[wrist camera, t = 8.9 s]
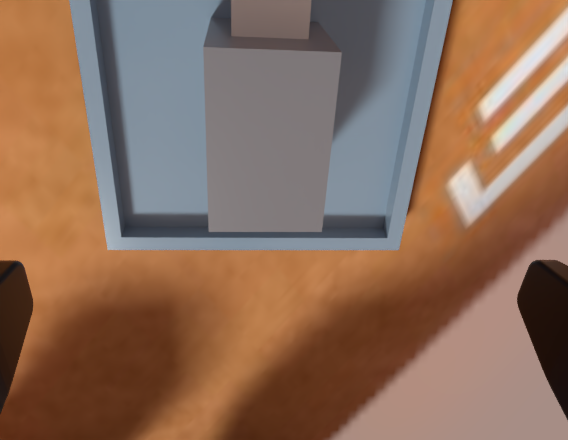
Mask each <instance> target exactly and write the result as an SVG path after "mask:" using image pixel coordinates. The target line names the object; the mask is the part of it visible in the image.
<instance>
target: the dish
mask: <svg viewBox="0 0 568 440" xmlns="http://www.w3.org/2000/svg"><path fill="white" fill-rule="evenodd" d="M69 1H70V8H71V14H72V21H73V27H74V34H75V40H76V47H77V53H78V60H79V66H80V73H81V79H82V86H83V92H84V99H85V105H86V112H87V118H88V125H89V131H90V138H91V144H92V151H93V157H94V164H95V170H96V177H97V183H98V190H99V196H100V203H101V209H102V216H103V222H104V229H105V235H106V242H107V248H108V250H399V247H400V242H401V238H402V233H403V229H404V224H405V219H406V215H407V210H408V205H409V201H410V196H411V192H412V187H413V182H414V178H415V173H416V168H417V164H418V159H419V155H420V150H421V145H422V141H423V136H424V131H425V127H426V122H427V118H428V113H429V108H430V104H431V99H432V94H433V90H434V85H435V81H436V76H437V71H438V67H439V62H440V57H441V53H442V48H443V44H444V39H445V34H446V30H447V25H448V20H449V16H450V11H451V7H452V2H453V0H311V13H310V22H319V24H320V25H321V26H322V28H323V29H324V30H325V31H326V33H327V34H328V35H329V36H330V38H331V39H332V40H333V42H334V43H335V44H336V45H337V47H338V48H339V49H340V50H341V52H342V57H341V66H340V75H339V84H338V93H337V102H336V111H335V120H334V128H333V137H332V146H331V155H330V164H329V173H328V182H327V191H326V200H325V209H324V218H323V227H322V232H209V227H208V193H207V159H206V125H205V91H204V57H203V46H204V42H205V38H206V34H207V30H208V26H209V23H210V19H211V18H231V0H69Z"/></svg>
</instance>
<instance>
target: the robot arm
mask: <svg viewBox="0 0 568 440" xmlns="http://www.w3.org/2000/svg"><path fill="white" fill-rule="evenodd" d="M517 303H518V307H519V310H520V313H521V315H522V318H523V321H524V323H525V326H526V328H527V331H528V333H529V336H530V338H531V341H532V343H533V346H534V349H535V351H536V354H537V356H538V359H539V361H540V363H541V366H542V369H543V371H544V373H545V376H546V378H547V380H548V382H549V385H550V387H551V389H552V391H553V393H554V394H555V397H556V398H557V400H558V402H559V404H560V406H561V408H562V410H563V412H564V414H565V415H566V418H567V420H568V266H567V265H565V264H563V263H561V262H559V261H556V260H536V261H533V262H532V263H531V264H530V265H529V267H528V270H527V272H526V275H525V277H524V280H523V282H522V285H521V288H520V290H519V293H518V297H517ZM32 311H33V298H32V294H31V290H30V286H29V283H28V279H27V275H26V272H25V268H24V266H23V264H22V263H21V262H19V261H0V413H1V411H2V409H3V406H4V404H5V401H6V398H7V396H8V393H9V390H10V387H11V384H12V381H13V378H14V374H15V371H16V367H17V364H18V360H19V357H20V353H21V350H22V346H23V343H24V339H25V336H26V332H27V329H28V326H29V322H30V319H31V315H32Z"/></svg>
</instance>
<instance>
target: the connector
mask: <svg viewBox="0 0 568 440" xmlns="http://www.w3.org/2000/svg"><path fill="white" fill-rule="evenodd" d="M310 13H311V0H231V18H211V19H210V23H209V26H208V30H207V34H206V38H205V42H204V46H203V57H204V91H205V125H206V159H207V193H208V227H209V232H322V227H323V218H324V209H325V200H326V191H327V182H328V173H329V164H330V155H331V146H332V137H333V128H334V120H335V111H336V102H337V93H338V84H339V75H340V66H341V57H342V52H341V50H340V49H339V48H338V47H337V45H336V44H335V43H334V42H333V40H332V39H331V38H330V36H329V35H328V34H327V33H326V31H325V30H324V29H323V28H322V26H321V25H320V24H319V22H310Z"/></svg>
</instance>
